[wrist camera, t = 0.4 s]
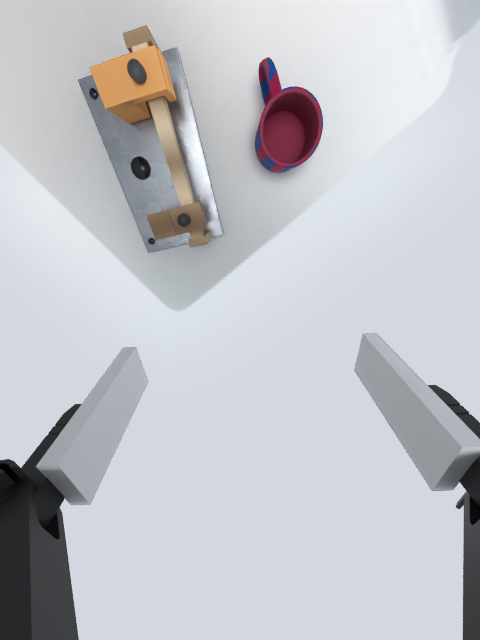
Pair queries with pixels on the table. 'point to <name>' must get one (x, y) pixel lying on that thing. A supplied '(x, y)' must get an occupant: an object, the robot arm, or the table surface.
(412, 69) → the table surface
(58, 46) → the table surface
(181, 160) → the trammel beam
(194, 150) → the flange plate
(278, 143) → the mug
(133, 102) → the slider leg
